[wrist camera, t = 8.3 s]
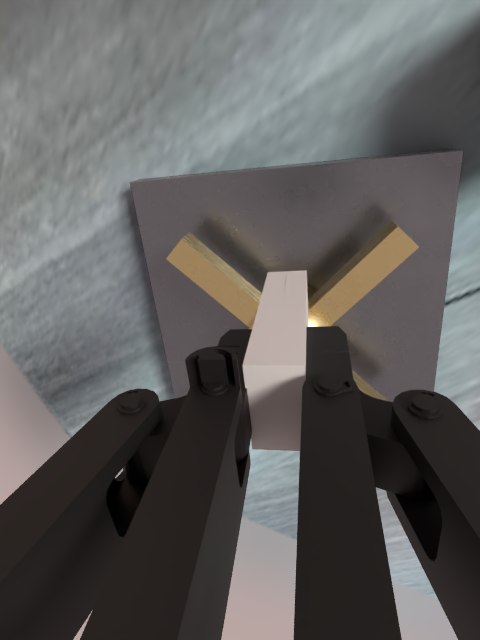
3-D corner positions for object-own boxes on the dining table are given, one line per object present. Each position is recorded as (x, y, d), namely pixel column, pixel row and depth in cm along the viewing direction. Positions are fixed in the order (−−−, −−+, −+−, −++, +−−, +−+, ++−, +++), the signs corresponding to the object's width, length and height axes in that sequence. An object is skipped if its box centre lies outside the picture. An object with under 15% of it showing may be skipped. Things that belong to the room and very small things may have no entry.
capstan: (283, 114, 25) (277, 111, 20) (491, 314, 28) (531, 356, 23) (122, 321, 33) (88, 356, 28) (297, 456, 37) (295, 509, 32)
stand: (140, 179, 30) (119, 185, 27) (452, 148, 26) (473, 152, 23) (186, 412, 39) (175, 438, 36) (422, 415, 36) (434, 445, 32)
